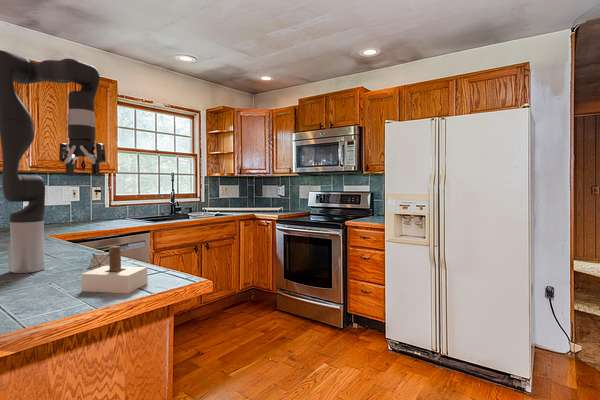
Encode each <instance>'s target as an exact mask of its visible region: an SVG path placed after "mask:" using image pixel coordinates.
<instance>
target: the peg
mask: <svg viewBox="0 0 600 400" xmlns="http://www.w3.org/2000/svg"><path fill="white" fill-rule="evenodd" d="M121 248H122V247H121V246H119V245H113V246H109V249H108V254H109V271H110V272H117V273H118V272H121V266H122V256H121V255H122V254H121V253H122V249H121Z"/></svg>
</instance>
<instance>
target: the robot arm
mask: <svg viewBox="0 0 600 400" xmlns="http://www.w3.org/2000/svg"><path fill="white" fill-rule="evenodd" d="M100 81H101V80H100V72H99V71H98V69H97V68H96V67H95V66H93V65H91V64H88V63H85V62H83V61H80V60H77V59H74V58H63V59H60V60H57V59H46V60H41V61H40V62H35V61H32V60H30V59H28V58H25V57H23V56H22V55H18V54H15V53H11V52H9V51H5V50H1V49H0V143H1V153H2V154H1V155H2V157H1V158H2V171H1V172H2V176H1V177H2V179H1V180H2V182H1V184H2V186H1V187H2V192H3V197H4V199H5V200H6V201H7V202H9V203H25V202H26V203H27V202H28V204H27V206H25V207H24V208H22V209H20V210H16V211H15V212H12V213H10V215H9V231H10V232H9V233H10V235H9V236H10V238H9V239H10V243H8V244H7V257H8V265H7V266H8V272H11V273H13V274H27V273H35V272H38V271H42V270H44V269H45V268H46V267H45V264H46V263H45V224H44V223H45V221H44V216H45V209H46V208H45V207H46V205H45V203H46V200H45V199H46V183H45V180H44V178H43V177H42V176H41V175H36V174H35V175H34V174H33V175H32V174H30V175H29V174H19V165H20V161H21V160H22V158H23V156H24V154H25V153H26V152H27V150H28V149H29V148H30V146H31V145H32V143H33V141H34V139H35V126H34V119H33V117H32V115H31V113H30V112H29V110H28V108H27V107H26V106H25V104H23V102H22V100H21V99H20V98H19V96H18V94H17V92H16V89H15V85H14V83H17V84H21V85H28V84H29V85H30V84H36V83H45V82H46V83H55V84H69V83H73V84H77V85H80V86H81V88H80V90H72V91H69V93H68V95H67V96H68V97H67V98H68V100H67V103H68V104H67V105H68V106H67V107H68V113H67V139H68V140H69V143H63V142H61V143H59V152H58V154H59V157H58V158H59V159H58V160H59V162H61V163H63V164H65V173H66V175H67V176H74V175H75V165H74V163H75V161H76V160H78V158H84V157H85V158H87V159H89V160H90V162H91V176H92V177H99V174H100V164H102V163H105V162H106V161H107V160H106V159H107V158H106V148H105V146H106V145H105V144H104V143H101V142H100V143H99V142H96V143H95V141H96V135H97V134H96V116H95V97H96V94H97V92H98V87H99V86H100V85H99V84H100ZM95 150H96V152H95Z"/></svg>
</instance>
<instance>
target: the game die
mask: <svg viewBox="0 0 600 400" xmlns="http://www.w3.org/2000/svg"><path fill="white" fill-rule="evenodd" d="M91 254H92V256H93V257H92V259H91V260H90V264H89V266H88V267H87V268H86V270H89V271H91V270H94V269H97V268H100V267H102V266H109V253H106V250H104V251H103V252H102V253H98V254H95V253H91Z"/></svg>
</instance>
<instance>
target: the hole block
mask: <svg viewBox="0 0 600 400" xmlns="http://www.w3.org/2000/svg"><path fill="white" fill-rule="evenodd" d="M148 281H149V280H148V266H124V265H121V272H118V273H117V272H110V271H109V266H102V267H100V268H97V269H94V270H89V271H86V272H82V273H81V292H92V293H114V294H116V293H117V294H130V293H131V292H133V291H135V290H138V289H139V288H141V287H143V286H144V285H147V284H148Z"/></svg>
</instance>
